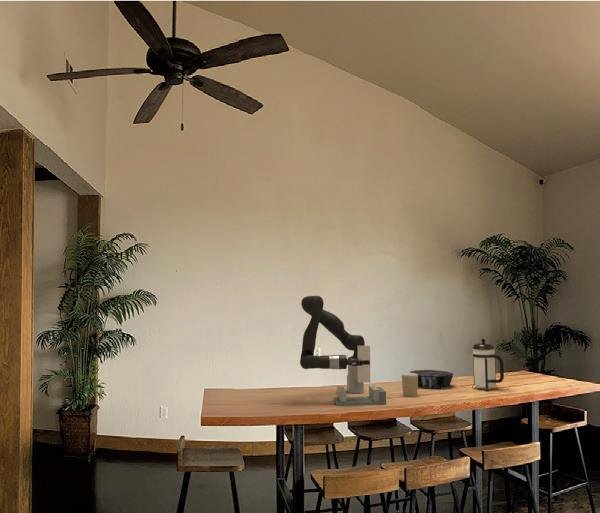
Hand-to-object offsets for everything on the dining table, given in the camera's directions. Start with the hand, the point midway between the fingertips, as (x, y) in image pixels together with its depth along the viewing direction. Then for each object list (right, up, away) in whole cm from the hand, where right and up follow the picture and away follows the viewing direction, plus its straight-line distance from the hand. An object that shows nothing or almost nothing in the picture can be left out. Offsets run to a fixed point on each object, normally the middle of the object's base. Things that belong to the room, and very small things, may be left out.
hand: (368, 361), depth 280 cm
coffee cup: (+25, -22, +14) cm, 37 cm away
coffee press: (+75, -23, +31) cm, 84 cm away
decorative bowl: (+45, -24, +45) cm, 68 cm away
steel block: (-3, -10, -1) cm, 11 cm away
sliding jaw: (-15, -20, -2) cm, 25 cm away
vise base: (-5, -21, -2) cm, 22 cm away
